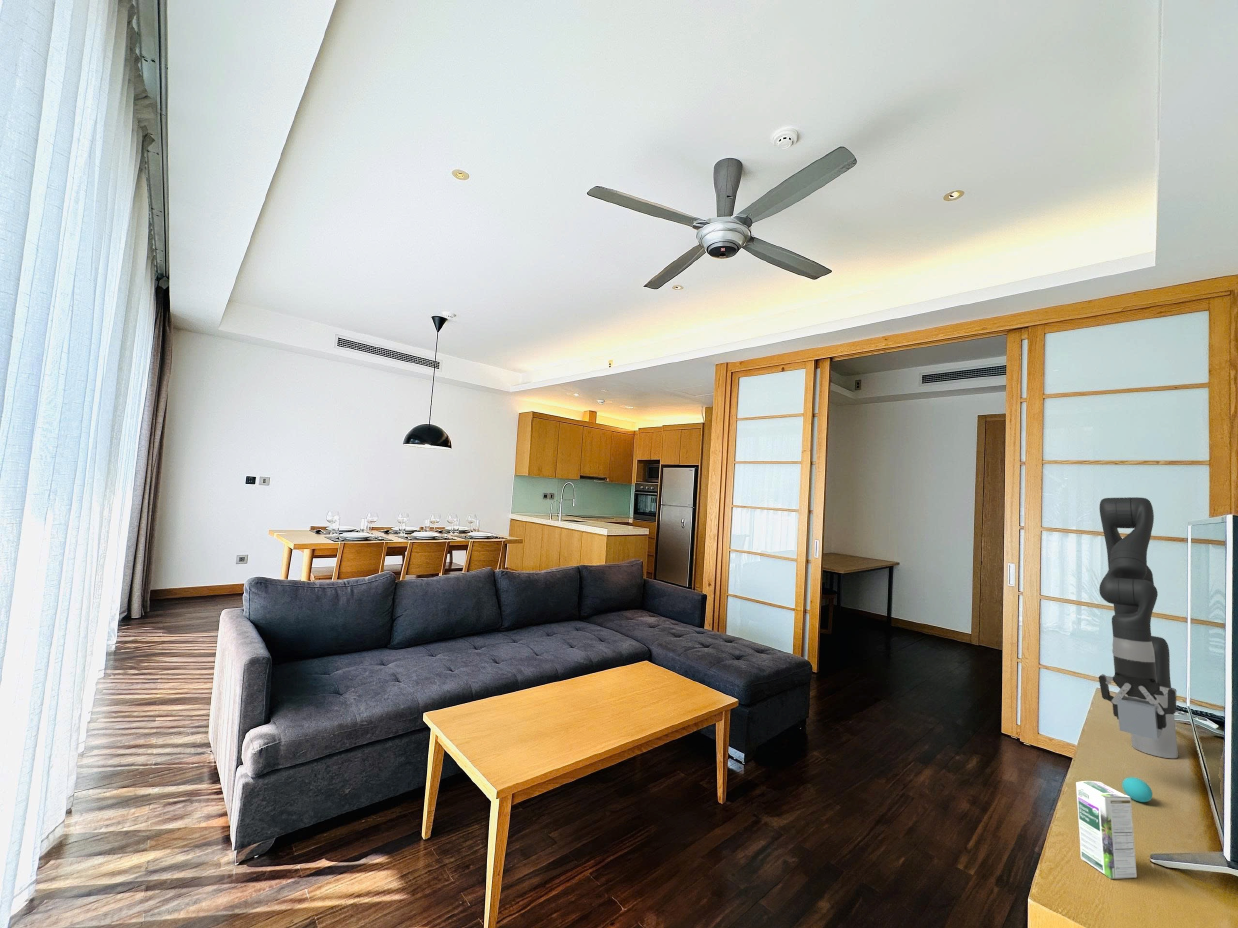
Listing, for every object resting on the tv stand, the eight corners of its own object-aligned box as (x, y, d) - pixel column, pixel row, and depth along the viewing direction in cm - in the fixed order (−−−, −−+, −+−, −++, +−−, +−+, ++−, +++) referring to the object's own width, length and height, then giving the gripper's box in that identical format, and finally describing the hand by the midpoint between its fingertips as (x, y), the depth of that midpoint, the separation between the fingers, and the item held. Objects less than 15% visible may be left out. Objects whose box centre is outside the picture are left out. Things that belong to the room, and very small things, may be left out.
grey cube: (1124, 724, 129) (1122, 695, 130) (1161, 733, 124) (1158, 703, 125) (1119, 730, 126) (1117, 700, 126) (1157, 739, 120) (1154, 708, 121)
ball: (1125, 792, 121) (1123, 770, 122) (1155, 802, 117) (1153, 779, 118) (1121, 798, 118) (1119, 776, 119) (1151, 808, 114) (1149, 786, 115)
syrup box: (1079, 858, 97) (1073, 780, 98) (1106, 857, 97) (1100, 779, 99) (1110, 879, 91) (1103, 796, 92) (1139, 878, 91) (1132, 795, 93)
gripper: (1177, 661, 123) (1184, 730, 122) (1098, 648, 135) (1103, 711, 133) (1173, 665, 119) (1180, 737, 117) (1092, 652, 131) (1097, 717, 129)
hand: (1139, 723), depth 125 cm, fingers closed on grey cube, 6 cm apart
